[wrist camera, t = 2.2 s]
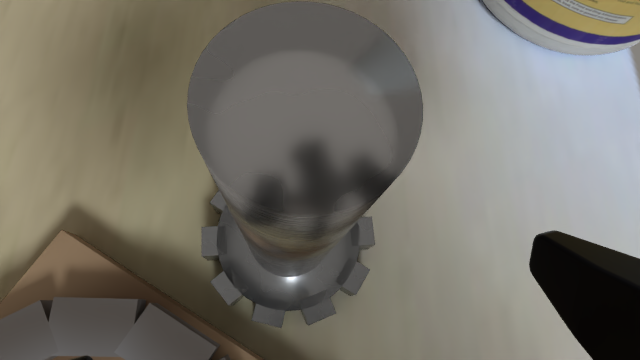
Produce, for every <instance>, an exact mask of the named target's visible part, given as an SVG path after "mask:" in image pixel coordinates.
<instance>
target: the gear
mask: <svg viewBox="0 0 640 360" xmlns="http://www.w3.org/2000/svg"><path fill="white" fill-rule="evenodd" d="M187 109H188V120H189V124H190V128H191V132H192V135H193V138H194V140H195V143H196V145H197V148H198V150H199V152H200V154H201V156H202V158H203V159H204V161H205V163H206V165H207V167H208V169H209V171H210V173H211V175H212V177H213V179H214V181H215V183H216V185H217V187H218V189H219V191H218V192H217V193H216V195H215V196H214V198H213V199H212V200H211V202H210V204H211V205H212V207H213V208H214V210H215V211H217V212H218V213H220V214H221V217H220V220H219V224H218V226H212V227H202V257H203V258H205V259H206V260H220V263H221V265H222V268H223V270H224V271H223V272H222V273H220V274H219V275H218V276H217V277H215V278H214V279H213V280H212V281H210V282H211V283H212V285H213V286H214V287H215V289H216V290H217V291H218V292H219V294H220V295H221V296H222V298H223V299H224V300H225V302H226V303H227V304H228V305H229V306H233V305H234V304H235V303H236V302H238V301H239V300H240V299H241V298H242V297H244V296H245V297H246V298H248V299H249V300H251V301H253V302H255V303H256V306H255V310H254V313H253V317H252V321H256V322H260V323H264V324H268V325H272V326H276V327H280V328H281V327H282V323H283V319H284V315H285V311H292V310H300V309H301V312H302V314H303V317H304V319H305V322H306V324H307V325H311V324H313V323H315V322H317V321H320V320H322V319H324V318H326V317H329V316H331V315H333V314H335V313H336V311H335V309H334V307H333V304H332V302H331V299H330V297H331V296H332V295H333V294H335V293H336V292H337V291H338V290H339V289H340V290H341V291H343V292H345V293H346V294H348V295H349V296H353V295H356V294H357V292H358V290H359V289H360V287H361V285H362V283H363V281H364V280H365V278H366V276H367V274H368V272H369V271H370V269H368V268H367V267H365V266H364V265H362V264H360V263H359V262H357V258H358V253H359V250H362V249H369V248H370V247H372V246H373V245H375V240H374V232H373V223H372V217H362V216H363V215H364V214H365V212H366V211H367V210H368V209H369V208H370V207H371V206H372V205H373V204H374V202H375V201H376V200H377V199H378V198H379V197H380V196H381V195H382V194H383V192H384V191H385V190H386V189H387V188H388V187H389V186H390V185H391V184H392V183H393V181H394V180H395V179H396V178H397V177H398V176H399V175H400V174H401V173H402V171H403V170H404V168H405V167H406V165H407V164H408V162H409V161H410V159H411V157H412V155H413V153H414V151H415V149H416V147H417V143H418V140H419V137H420V134H421V127H422V121H423V104H422V96H421V91H420V87H419V83H418V80H417V77H416V75H415V73H414V70H413V68H412V66H411V64H410V62H409V61H408V59H407V57H406V56H405V54H404V53H403V52H402V50H401V49H400V48H399V46H398V45H397V44H396V43H395V42H394V41H393V40H392V39H391V38H390V37H389V36H388V35H387V34H386V33H385V32H384V31H382V30H381V29H380V28H379V27H378V26H376V25H375V24H373V23H372V22H370V21H368V20H367V19H365V18H363V17H361V16H359V15H357V14H355V13H353V12H351V11H348V10H346V9H343V8H340V7H337V6H333V5H329V4H324V3H317V2H302V1H296V2H283V3H278V4H273V5H268V6H265V7H262V8H259V9H256V10H253V11H251V12H249V13H247V14H245V15H242V16H241V17H239V18H238V19H236V20H234V21H233V22H231V23H230V24H228V25H227V26H226V27H225V28H223V29H222V30H221V31H220V32H219V33H218V34H217V35H216V36H215V37H214V38H213V39H212V40H211V41H210V42H209V44H208V45H207V46H206V48H205V49H204V50H203V52H202V54H201V55H200V57H199V59H198V61H197V63H196V65H195V68H194V70H193V73H192V76H191V79H190V84H189V89H188V100H187Z"/></svg>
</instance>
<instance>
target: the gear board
mask: <svg viewBox="0 0 640 360" xmlns="http://www.w3.org/2000/svg"><path fill="white" fill-rule="evenodd" d="M86 355H88V356H90V357H91V358H92V359H93V360H264V359H263V358H261V357H260V356H258V355H257V354H255V353H254V352H252V351H251V350H249V349H248V348H246V347H245V346H243V345H241V344H240V343H238V342H237V341H235V340H234V339H232V338H231V337H229V336H228V335H226V334H225V333H223V332H222V331H220V330H219V329H217V328H216V327H214V326H213V325H211V324H210V323H208V322H207V321H205V320H204V319H202V318H201V317H199V316H198V315H196V314H195V313H193V312H191V311H190V310H188V309H187V308H185V307H184V306H182V305H181V304H179V303H178V302H176V301H175V300H173V299H172V298H170V297H169V296H167V295H166V294H164V293H163V292H161V291H160V290H158V289H157V288H155V287H154V286H152V285H151V284H149V283H148V282H146V281H145V280H143V279H142V278H140V277H138V276H137V275H135V274H134V273H132V272H131V271H129V270H128V269H126V268H125V267H123V266H122V265H120V264H119V263H117V262H116V261H114V260H113V259H111V258H110V257H108V256H107V255H105V254H104V253H102V252H101V251H99V250H98V249H96V248H95V247H93V246H92V245H90V244H88V243H87V242H85V241H84V240H82V239H81V238H79V237H78V236H76V235H74V234H72V233H69V232H66V231H63V230H61V231H60V232H59V234H58V235H57V236H56V237H55V238H54V239H53V241H52V242H51V243H50V244H49V245H48V247H47V248H46V249H45V250H44V251H43V253H42V254H41V255H40V256H39V257H38V259H37V260H36V261H35V262H34V263H33V264H32V266H31V267H30V268H29V269H28V270H27V272H26V273H25V274H24V275H23V276H22V278H21V279H20V280H19V281H18V282H17V284H16V285H15V286H14V287H13V288H12V289H11V291H10V292H9V293H8V294H7V295H6V297H5V298H4V299H3V300H2V301H1V303H0V360H70V359H73V358H77V357H81V356H86Z"/></svg>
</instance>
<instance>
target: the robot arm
mask: <svg viewBox="0 0 640 360" xmlns="http://www.w3.org/2000/svg"><path fill="white" fill-rule="evenodd" d="M529 266H530V271H531V273H532V275H533V277H534V278H535V280H536V281H537V283H538V284H539V286H540V287H541V289H542V290H543V291H544V293H545V294H546V296H547V297H548V299H549V300H550V302H551V303H552V305H553V306H554V308H555V309H556V311H557V312H558V314H559V315H560V317H561V318H562V320H563V321H564V322H565V324H566V325H567V327H568V328H569V330H570V331H571V332H572V334H573V335H574V337H575V338H576V339H577V340H578V342H579V343H580V344H581V345H582V347H583V348H584V349H585V350H586V352H587V353H588V354H589V355H590V357H591V358H592V359H593V360H640V259H639V258H636V257H633V256H630V255H627V254H624V253H621V252H618V251H615V250H612V249H609V248H606V247H603V246H600V245H597V244H594V243H591V242H589V241H586V240H583V239H580V238H577V237H574V236H571V235H568V234H565V233H562V232H559V231H549V232H545V233H541V234H538V235H536V237H535V238H534V241H533V246H532V251H531V257H530V262H529ZM70 360H93V359H92V358H91V357H90V356H88V355H86V356H81V357H77V358H73V359H70Z"/></svg>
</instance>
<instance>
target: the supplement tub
mask: <svg viewBox="0 0 640 360" xmlns="http://www.w3.org/2000/svg"><path fill="white" fill-rule="evenodd" d="M483 2H484V3H485V5H486V6H487V7H488V9H489V10H490V11H491V12H492V13H493V14H494V15H495V16H496V17H497V18H498V19H499V20H500V21H501V22H502V23H503V24H505V25H506V26H507V27H508V28H510V29H511V30H512V31H513V32H515V33H516V34H518V35H519V36H521V37H523V38H524V39H526V40H528V41H530V42H532V43H534V44H536V45H538V46H541V47H544V48H547V49H550V50H553V51H557V52H561V53H565V54H572V55H602V54H609V53H613V52H617V51H620V50H623V49H626V48H629V47H631V46H633V45H635V44H637V43H639V42H640V0H483Z"/></svg>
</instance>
